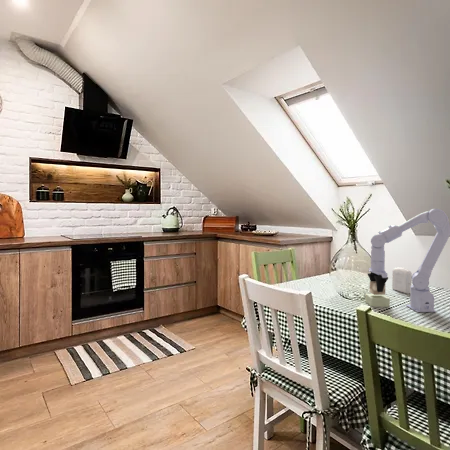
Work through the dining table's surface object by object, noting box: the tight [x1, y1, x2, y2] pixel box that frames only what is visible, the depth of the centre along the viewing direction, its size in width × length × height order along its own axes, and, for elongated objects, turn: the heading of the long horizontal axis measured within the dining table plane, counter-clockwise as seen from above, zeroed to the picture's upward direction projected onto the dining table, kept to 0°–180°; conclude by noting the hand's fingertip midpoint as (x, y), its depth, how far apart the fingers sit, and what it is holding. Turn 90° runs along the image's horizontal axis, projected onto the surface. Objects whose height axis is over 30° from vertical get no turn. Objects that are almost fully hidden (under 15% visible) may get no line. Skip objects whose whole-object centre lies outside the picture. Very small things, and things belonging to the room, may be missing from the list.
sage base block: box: [364, 293, 391, 308], centre depth 160 cm, size 8×8×4 cm
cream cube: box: [369, 280, 387, 296], centre depth 160 cm, size 5×5×5 cm
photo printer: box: [391, 266, 413, 294], centre depth 182 cm, size 10×4×12 cm, turn 17°
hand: (377, 290), depth 160 cm, fingers closed on cream cube, 5 cm apart
